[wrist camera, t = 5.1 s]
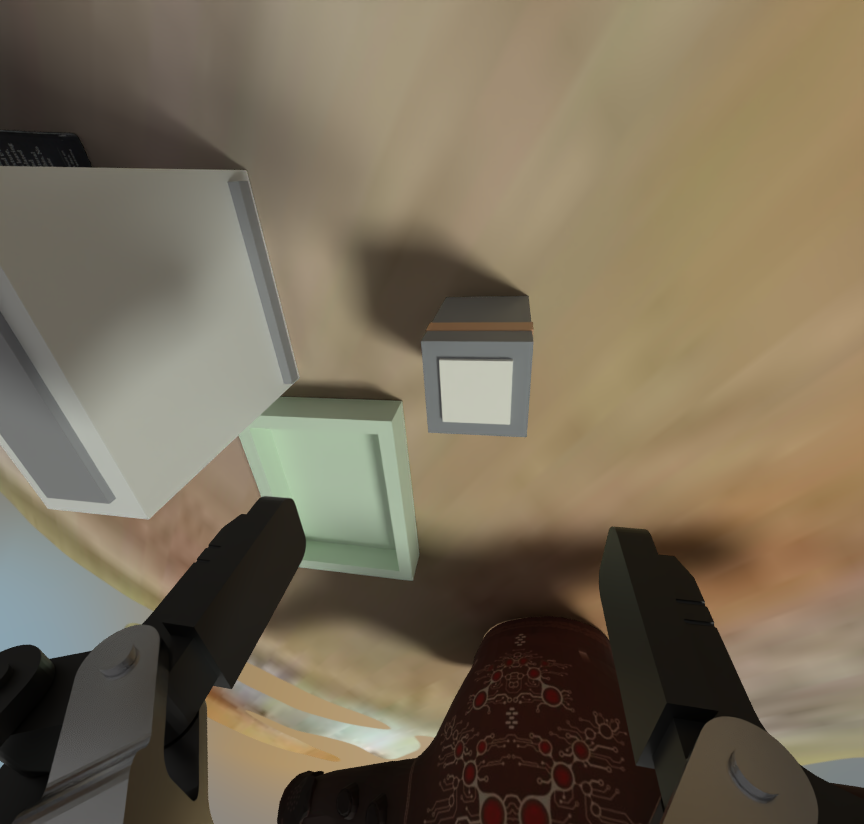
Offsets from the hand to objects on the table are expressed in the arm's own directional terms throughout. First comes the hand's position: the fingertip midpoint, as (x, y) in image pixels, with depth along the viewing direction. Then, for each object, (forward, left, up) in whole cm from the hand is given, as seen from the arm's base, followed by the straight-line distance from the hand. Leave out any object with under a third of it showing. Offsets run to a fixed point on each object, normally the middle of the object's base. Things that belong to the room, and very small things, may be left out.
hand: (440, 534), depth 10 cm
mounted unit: (+15, -3, -15) cm, 21 cm away
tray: (+11, +12, -15) cm, 22 cm away
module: (0, 0, -15) cm, 15 cm away
